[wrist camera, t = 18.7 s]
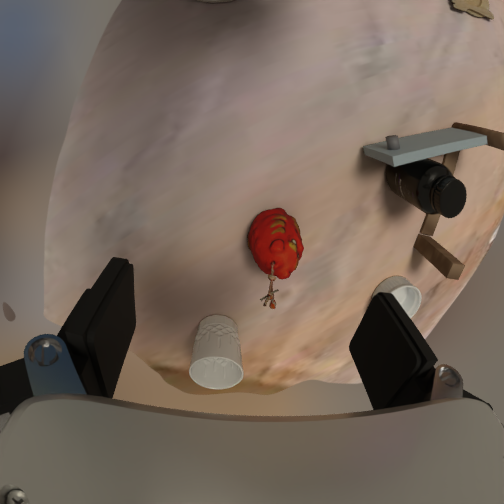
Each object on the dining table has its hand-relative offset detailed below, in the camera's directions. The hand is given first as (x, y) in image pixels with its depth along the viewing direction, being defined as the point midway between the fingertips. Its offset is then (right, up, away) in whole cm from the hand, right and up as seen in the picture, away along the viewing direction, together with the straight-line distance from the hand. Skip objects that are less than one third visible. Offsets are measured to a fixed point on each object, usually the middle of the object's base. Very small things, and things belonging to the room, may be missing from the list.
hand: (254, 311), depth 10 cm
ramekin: (+25, -5, +37) cm, 44 cm away
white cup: (-6, -11, +37) cm, 39 cm away
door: (+23, +19, +23) cm, 37 cm away
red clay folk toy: (+3, +5, +30) cm, 30 cm away
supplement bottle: (+22, +14, +27) cm, 37 cm away
